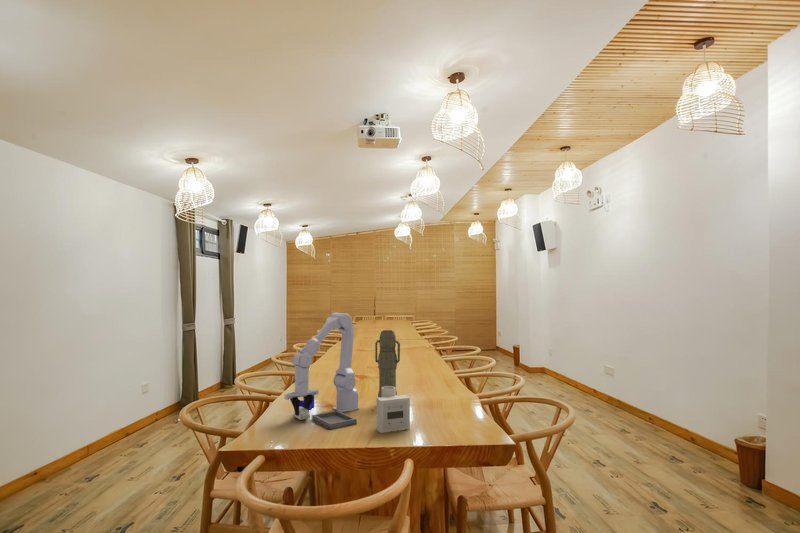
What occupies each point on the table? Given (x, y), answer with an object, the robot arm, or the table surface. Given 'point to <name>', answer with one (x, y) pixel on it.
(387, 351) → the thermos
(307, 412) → the connector
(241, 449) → the table surface
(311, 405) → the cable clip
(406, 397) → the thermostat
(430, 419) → the table surface
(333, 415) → the tray
